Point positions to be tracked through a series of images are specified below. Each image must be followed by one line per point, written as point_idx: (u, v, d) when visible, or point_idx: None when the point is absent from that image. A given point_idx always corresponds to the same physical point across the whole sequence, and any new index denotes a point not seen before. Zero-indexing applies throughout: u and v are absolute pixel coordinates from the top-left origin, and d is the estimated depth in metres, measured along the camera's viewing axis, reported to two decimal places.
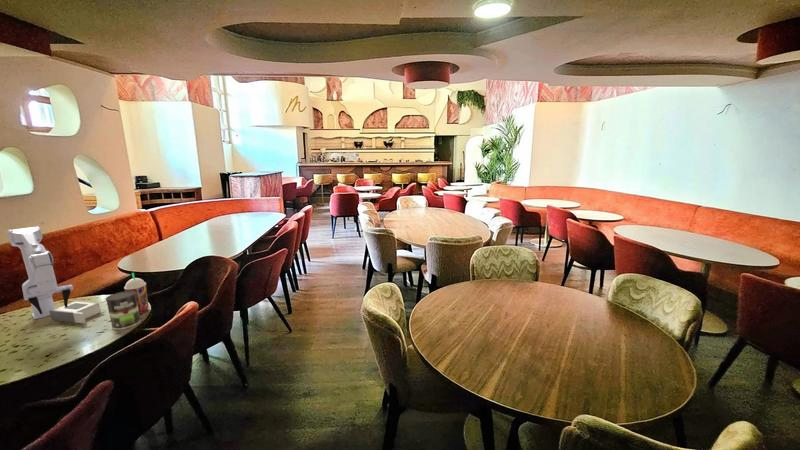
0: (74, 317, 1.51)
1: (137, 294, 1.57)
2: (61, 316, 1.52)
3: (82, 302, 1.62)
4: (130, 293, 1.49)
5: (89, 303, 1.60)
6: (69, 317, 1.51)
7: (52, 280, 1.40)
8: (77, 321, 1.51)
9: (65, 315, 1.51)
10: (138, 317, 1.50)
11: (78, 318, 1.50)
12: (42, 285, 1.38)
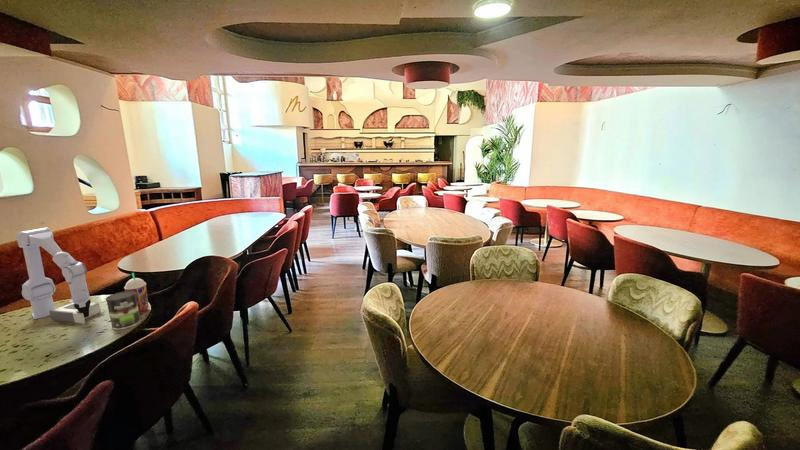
0: (74, 317, 1.50)
1: (137, 294, 1.57)
2: (61, 316, 1.52)
3: None
4: (130, 293, 1.49)
5: None
6: (69, 317, 1.51)
7: (72, 292, 1.47)
8: (77, 322, 1.51)
9: (65, 315, 1.51)
10: (138, 317, 1.50)
11: (78, 318, 1.50)
12: None
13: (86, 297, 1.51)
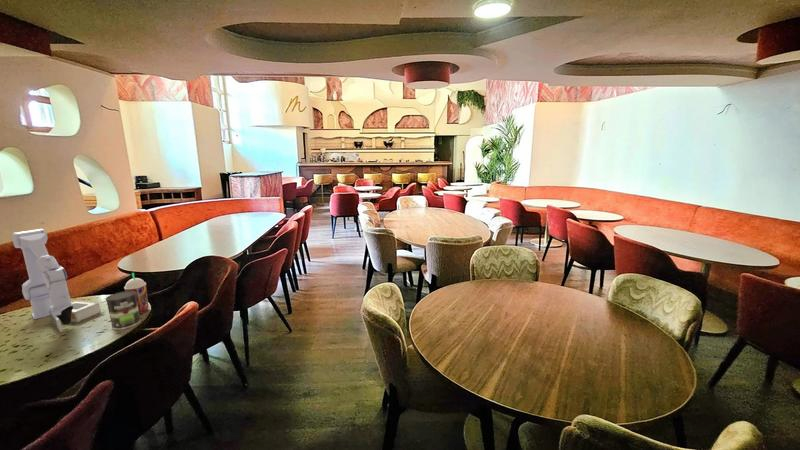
0: (56, 323, 1.45)
1: (137, 294, 1.57)
2: (53, 319, 1.50)
3: (82, 302, 1.62)
4: (130, 293, 1.49)
5: (89, 303, 1.60)
6: (55, 322, 1.47)
7: (51, 298, 1.41)
8: (58, 328, 1.45)
9: (53, 319, 1.48)
10: (138, 317, 1.50)
11: (58, 325, 1.44)
12: None
13: (65, 304, 1.44)
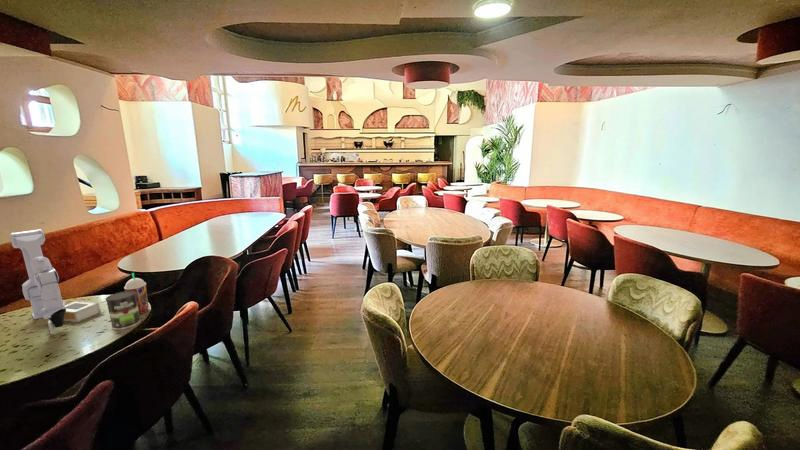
0: None
1: (137, 294, 1.57)
2: None
3: (82, 302, 1.62)
4: (130, 293, 1.49)
5: (89, 303, 1.60)
6: None
7: (42, 300, 1.39)
8: None
9: None
10: (138, 317, 1.50)
11: None
12: None
13: (57, 307, 1.41)
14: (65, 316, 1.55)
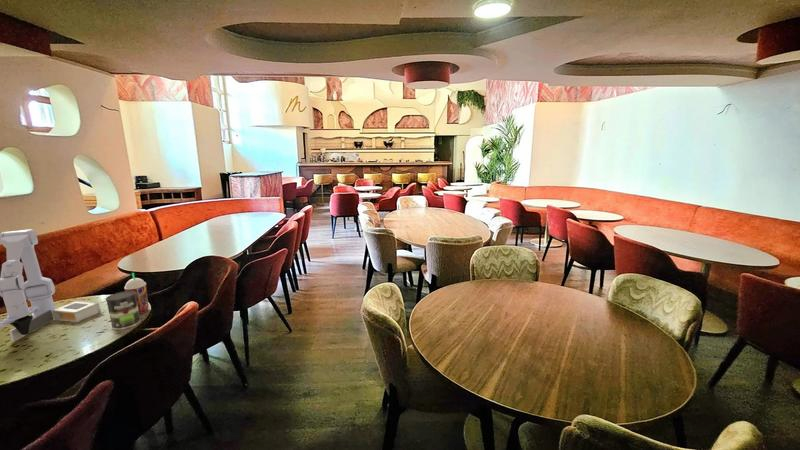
0: None
1: (137, 294, 1.57)
2: None
3: (82, 302, 1.62)
4: (130, 293, 1.49)
5: (89, 303, 1.60)
6: None
7: (6, 306, 1.34)
8: None
9: None
10: (138, 317, 1.50)
11: None
12: None
13: (17, 315, 1.35)
14: (65, 316, 1.55)
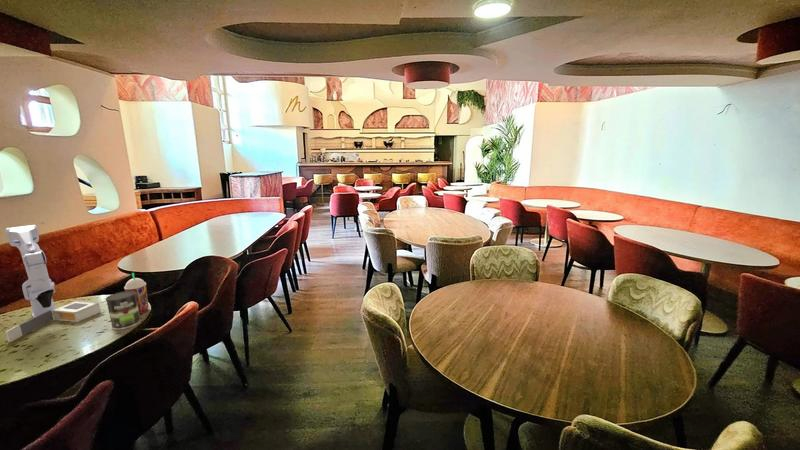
0: None
1: (137, 294, 1.57)
2: None
3: (82, 302, 1.62)
4: (130, 293, 1.49)
5: (89, 303, 1.60)
6: None
7: (30, 280, 1.43)
8: None
9: None
10: (138, 317, 1.50)
11: None
12: None
13: (44, 287, 1.45)
14: (65, 316, 1.55)
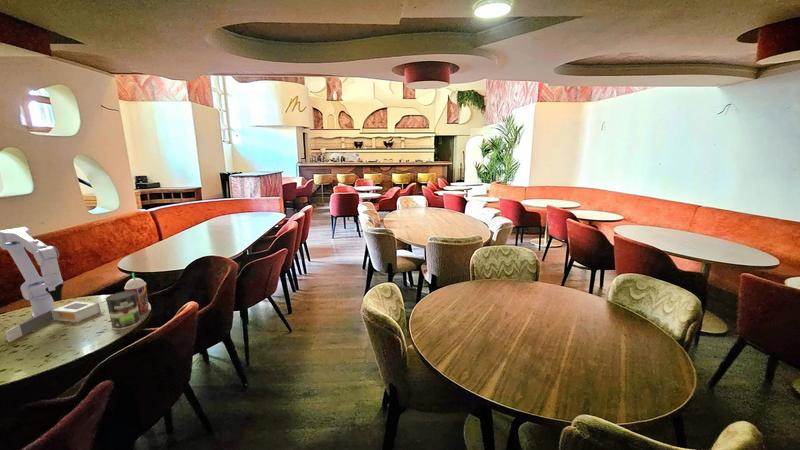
0: None
1: (137, 294, 1.57)
2: None
3: (82, 302, 1.62)
4: (130, 293, 1.49)
5: (89, 303, 1.60)
6: None
7: (43, 275, 1.48)
8: None
9: None
10: (138, 317, 1.50)
11: None
12: None
13: (58, 281, 1.51)
14: (65, 316, 1.55)
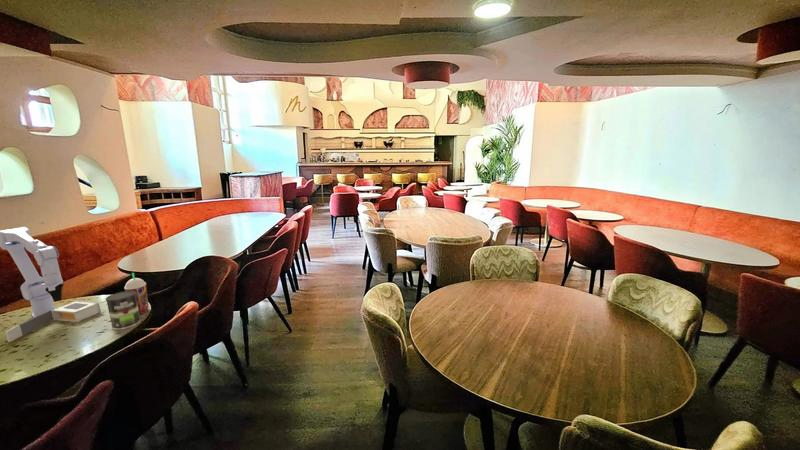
0: None
1: (137, 294, 1.57)
2: None
3: (82, 302, 1.62)
4: (130, 293, 1.49)
5: (89, 303, 1.60)
6: None
7: (43, 275, 1.48)
8: None
9: None
10: (138, 317, 1.50)
11: None
12: None
13: (58, 281, 1.51)
14: (65, 316, 1.55)
